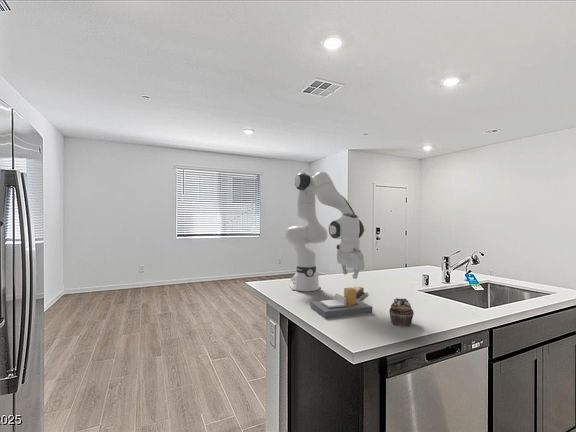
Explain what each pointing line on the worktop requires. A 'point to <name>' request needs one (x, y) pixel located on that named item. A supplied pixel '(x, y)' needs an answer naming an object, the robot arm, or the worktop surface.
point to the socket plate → (341, 309)
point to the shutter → (335, 302)
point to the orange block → (350, 296)
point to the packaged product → (360, 293)
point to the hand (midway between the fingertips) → (349, 276)
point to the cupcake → (401, 313)
